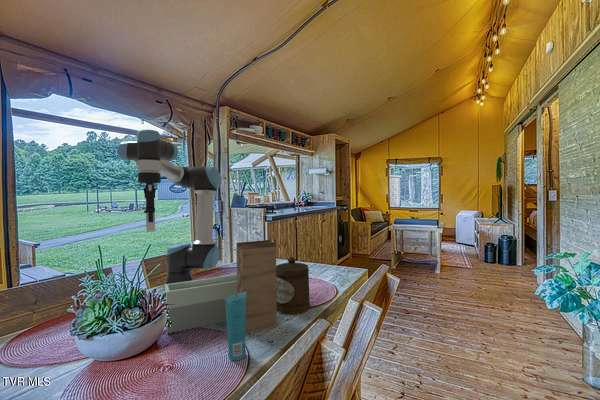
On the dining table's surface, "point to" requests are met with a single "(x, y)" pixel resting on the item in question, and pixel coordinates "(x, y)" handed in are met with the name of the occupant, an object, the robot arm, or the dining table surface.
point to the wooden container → (292, 287)
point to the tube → (236, 324)
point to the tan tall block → (258, 283)
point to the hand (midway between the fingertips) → (150, 229)
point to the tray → (199, 302)
